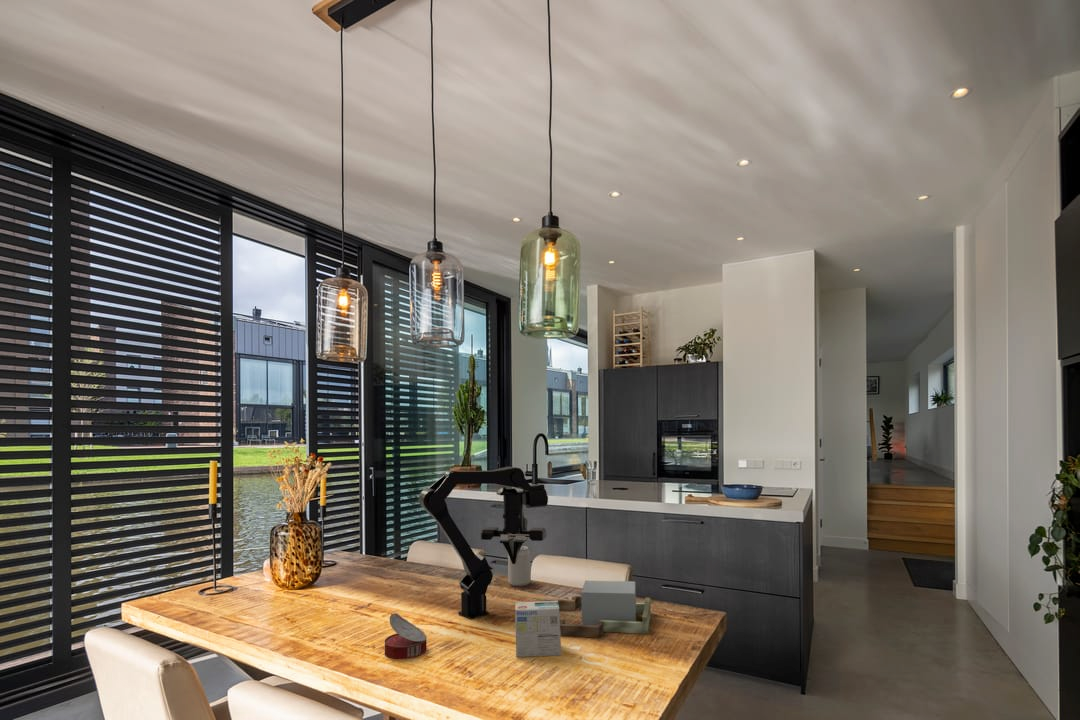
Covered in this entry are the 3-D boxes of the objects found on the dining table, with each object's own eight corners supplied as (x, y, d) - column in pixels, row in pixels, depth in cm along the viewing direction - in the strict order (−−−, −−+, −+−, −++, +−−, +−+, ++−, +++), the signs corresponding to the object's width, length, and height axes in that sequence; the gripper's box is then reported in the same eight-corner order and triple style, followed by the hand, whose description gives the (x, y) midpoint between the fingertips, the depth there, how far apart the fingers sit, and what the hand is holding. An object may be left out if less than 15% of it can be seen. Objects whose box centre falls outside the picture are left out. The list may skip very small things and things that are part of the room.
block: (582, 627, 160) (581, 592, 161) (586, 613, 171) (585, 580, 172) (635, 629, 157) (634, 593, 158) (636, 614, 169) (635, 581, 170)
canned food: (404, 663, 150) (416, 621, 155) (429, 669, 143) (442, 624, 148) (367, 653, 143) (382, 609, 148) (392, 658, 137) (407, 612, 142)
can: (530, 586, 200) (529, 549, 201) (507, 587, 200) (507, 549, 201) (531, 580, 207) (530, 544, 208) (509, 581, 207) (508, 545, 209)
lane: (527, 633, 155) (527, 617, 156) (548, 603, 181) (548, 589, 182) (646, 640, 149) (646, 623, 149) (651, 607, 175) (650, 593, 175)
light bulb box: (560, 645, 147) (558, 599, 148) (561, 656, 140) (560, 608, 141) (515, 647, 147) (514, 601, 148) (515, 658, 140) (514, 609, 141)
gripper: (549, 506, 186) (550, 558, 185) (491, 505, 190) (491, 556, 189) (541, 511, 175) (542, 567, 174) (479, 511, 179) (480, 565, 178)
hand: (514, 563), depth 179 cm, fingers closed
